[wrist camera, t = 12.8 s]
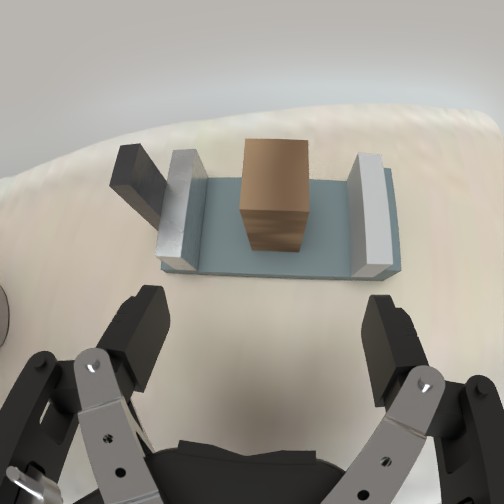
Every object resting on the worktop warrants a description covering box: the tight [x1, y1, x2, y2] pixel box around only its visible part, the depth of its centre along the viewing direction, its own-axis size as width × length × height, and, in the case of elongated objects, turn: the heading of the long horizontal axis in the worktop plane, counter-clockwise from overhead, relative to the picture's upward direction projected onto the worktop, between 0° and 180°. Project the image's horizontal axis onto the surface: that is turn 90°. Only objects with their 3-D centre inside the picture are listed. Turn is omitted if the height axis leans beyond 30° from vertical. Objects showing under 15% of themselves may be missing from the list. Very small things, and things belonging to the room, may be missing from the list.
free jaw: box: [109, 143, 208, 271], centre depth 22 cm, size 4×9×10 cm, turn 177°
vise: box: [161, 153, 401, 281], centre depth 25 cm, size 20×9×6 cm, turn 87°
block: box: [239, 139, 309, 252], centre depth 22 cm, size 4×5×9 cm
